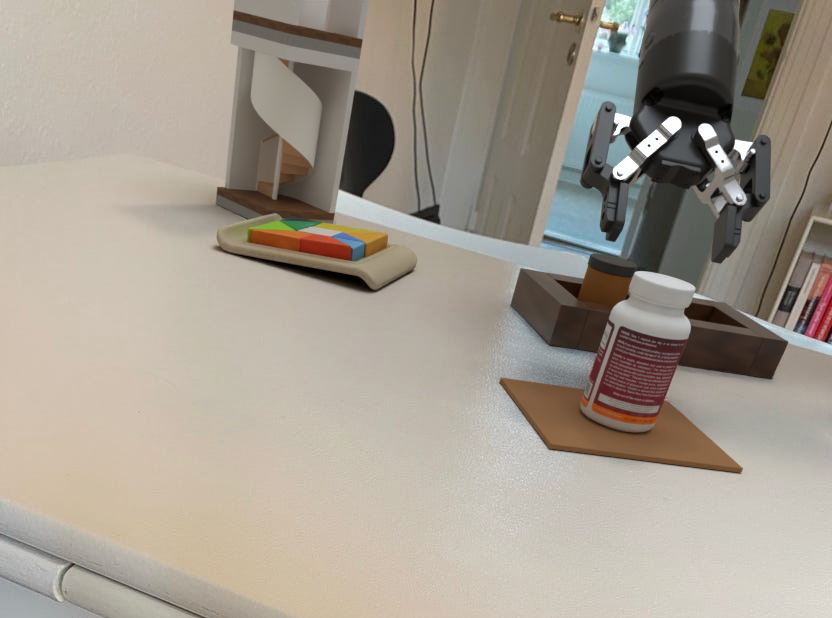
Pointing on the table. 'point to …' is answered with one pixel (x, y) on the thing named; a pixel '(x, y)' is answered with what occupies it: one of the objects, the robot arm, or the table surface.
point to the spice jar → (606, 279)
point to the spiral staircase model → (291, 105)
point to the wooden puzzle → (320, 247)
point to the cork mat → (614, 430)
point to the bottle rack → (585, 322)
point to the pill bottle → (639, 353)
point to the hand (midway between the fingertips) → (667, 246)
